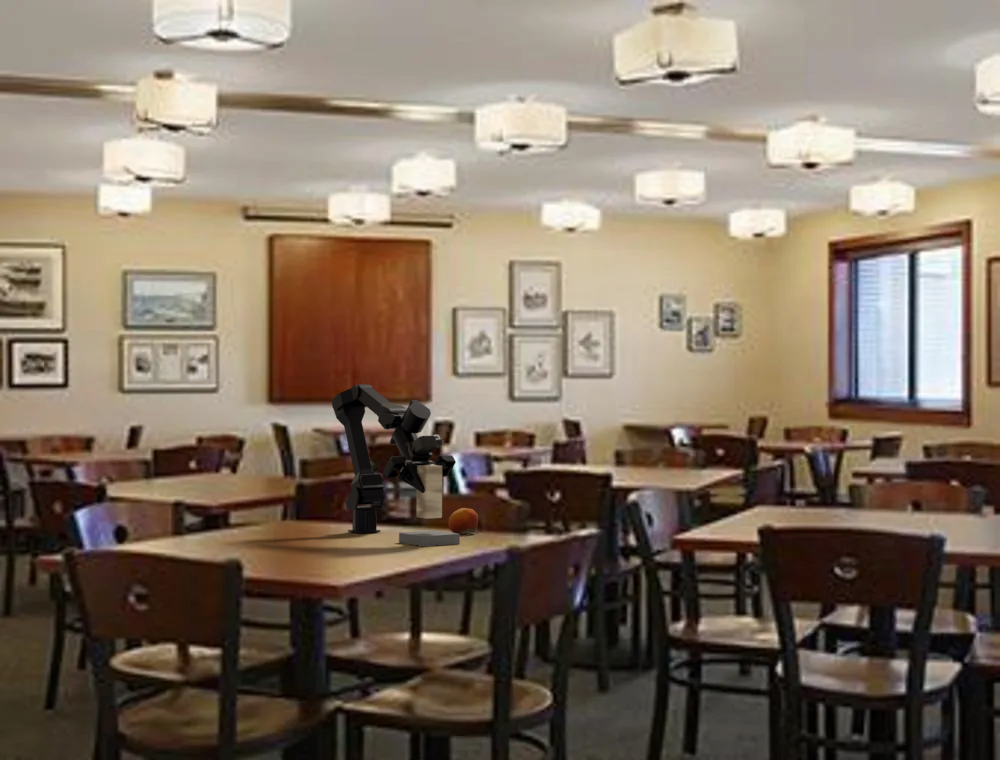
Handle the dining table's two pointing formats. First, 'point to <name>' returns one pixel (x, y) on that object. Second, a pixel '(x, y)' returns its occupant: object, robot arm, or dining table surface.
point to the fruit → (463, 521)
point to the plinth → (429, 538)
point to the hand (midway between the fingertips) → (432, 491)
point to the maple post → (430, 492)
